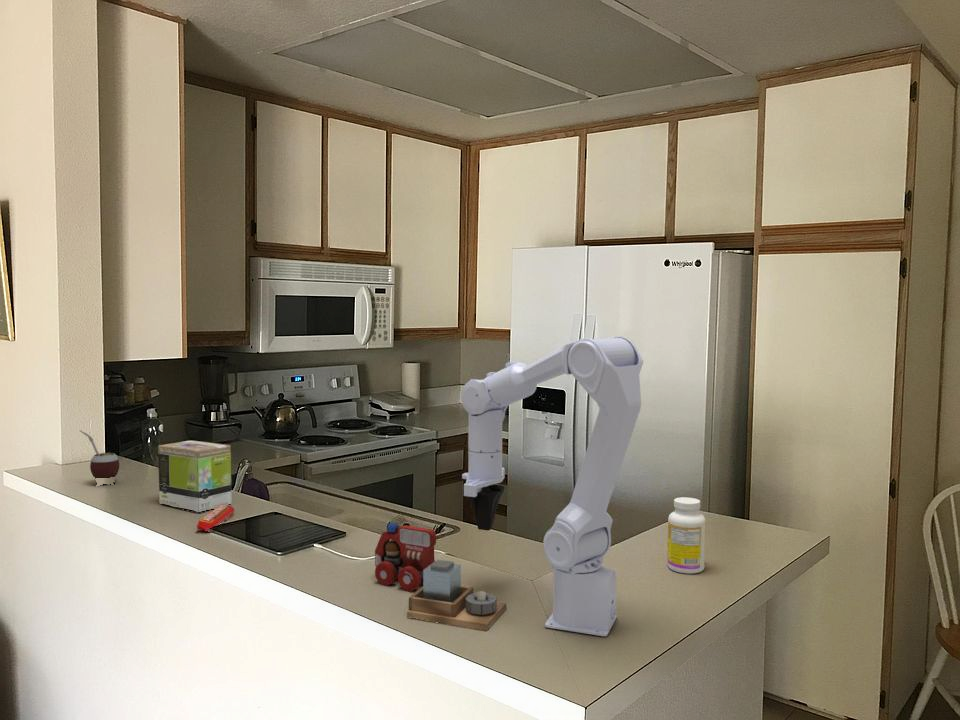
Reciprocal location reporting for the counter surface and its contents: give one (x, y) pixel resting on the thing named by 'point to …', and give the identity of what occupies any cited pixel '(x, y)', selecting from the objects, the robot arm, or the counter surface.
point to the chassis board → (453, 610)
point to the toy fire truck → (404, 555)
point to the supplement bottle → (686, 537)
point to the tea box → (195, 474)
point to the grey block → (442, 581)
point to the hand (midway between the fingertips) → (485, 528)
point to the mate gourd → (103, 463)
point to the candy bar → (215, 517)
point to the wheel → (481, 604)
